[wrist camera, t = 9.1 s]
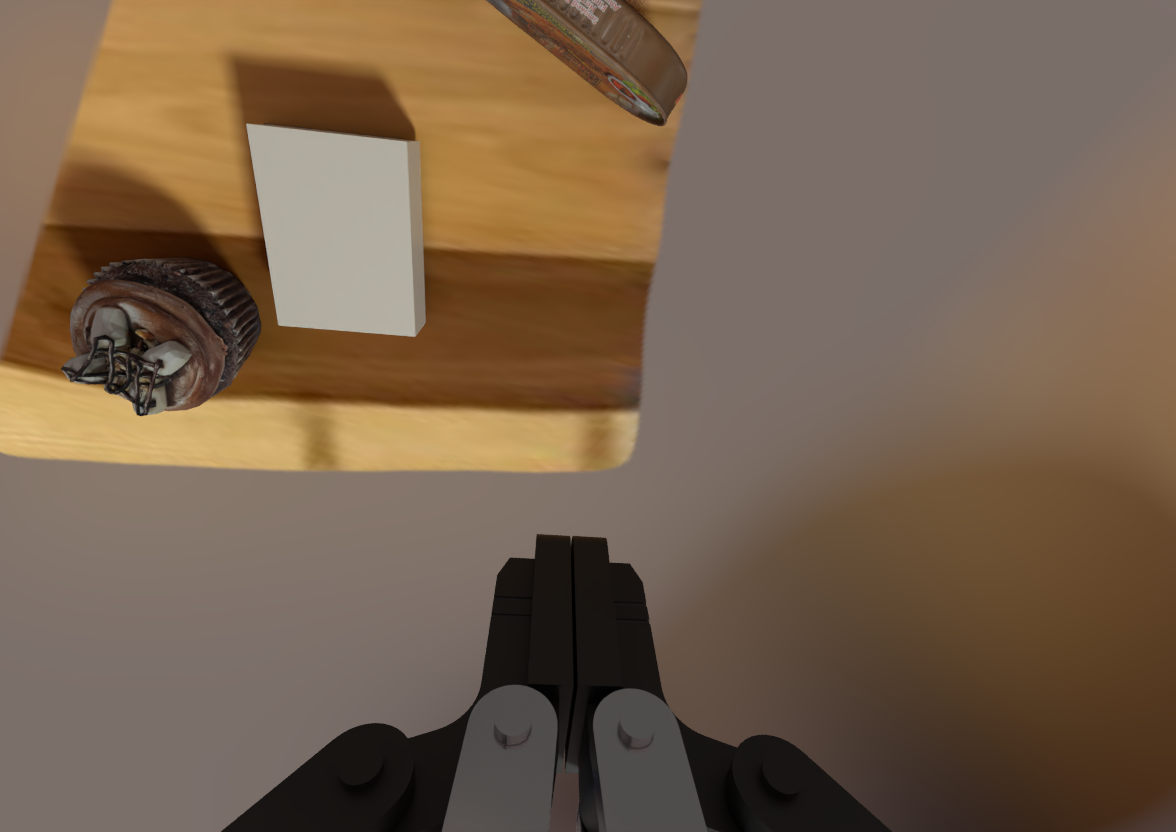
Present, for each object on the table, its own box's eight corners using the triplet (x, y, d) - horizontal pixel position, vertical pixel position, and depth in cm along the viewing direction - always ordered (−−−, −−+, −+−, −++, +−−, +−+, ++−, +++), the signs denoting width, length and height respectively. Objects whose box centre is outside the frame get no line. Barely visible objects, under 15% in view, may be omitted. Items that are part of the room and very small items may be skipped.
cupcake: (286, 281, 39) (205, 324, 30) (259, 392, 43) (179, 459, 34) (141, 219, 37) (7, 246, 28) (125, 342, 41) (3, 400, 32)
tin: (442, -34, 31) (405, -87, 24) (469, -93, 30) (438, -168, 23) (649, 132, 36) (672, 131, 28) (679, 86, 35) (711, 72, 27)
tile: (420, 141, 35) (274, 124, 34) (407, 141, 32) (246, 123, 31) (426, 321, 40) (300, 310, 40) (415, 336, 37) (278, 325, 37)
